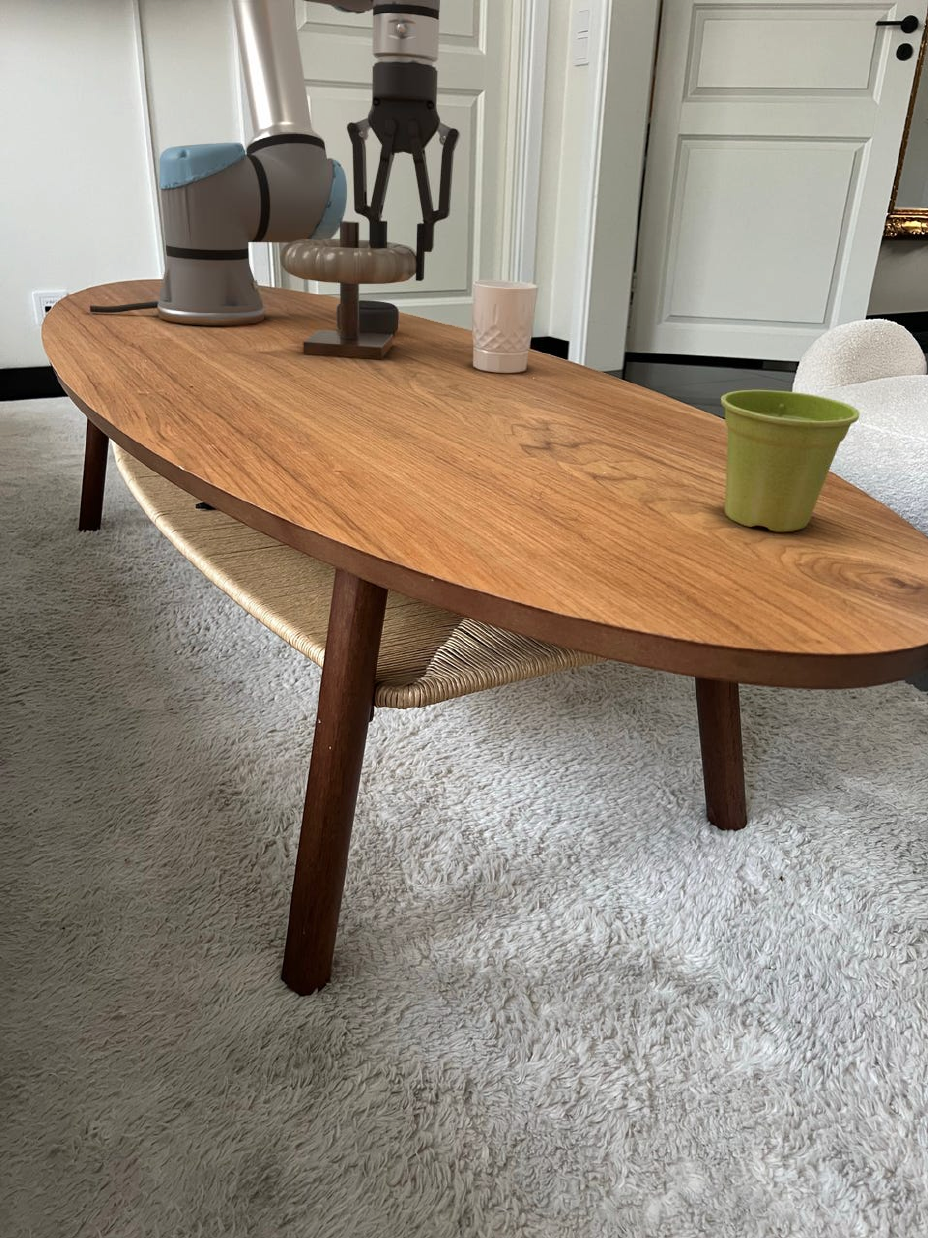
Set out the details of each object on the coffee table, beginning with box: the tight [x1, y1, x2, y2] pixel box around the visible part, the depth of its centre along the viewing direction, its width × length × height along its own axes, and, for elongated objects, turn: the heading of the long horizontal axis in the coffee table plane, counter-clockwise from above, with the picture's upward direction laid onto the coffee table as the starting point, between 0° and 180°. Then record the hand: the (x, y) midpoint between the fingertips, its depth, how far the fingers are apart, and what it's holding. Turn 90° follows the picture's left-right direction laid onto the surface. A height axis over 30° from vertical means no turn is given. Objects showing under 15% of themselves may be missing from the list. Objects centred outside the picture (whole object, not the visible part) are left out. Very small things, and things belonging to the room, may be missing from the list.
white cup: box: [471, 279, 539, 374], centre depth 111 cm, size 8×8×10 cm
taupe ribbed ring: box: [279, 238, 416, 285], centre depth 114 cm, size 17×17×4 cm
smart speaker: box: [336, 299, 400, 335], centre depth 130 cm, size 9×9×4 cm
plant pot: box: [720, 389, 860, 533], centre depth 66 cm, size 9×9×9 cm
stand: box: [302, 220, 394, 360], centre depth 115 cm, size 10×10×16 cm
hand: (400, 277), depth 114 cm, fingers closed on taupe ribbed ring, 4 cm apart
